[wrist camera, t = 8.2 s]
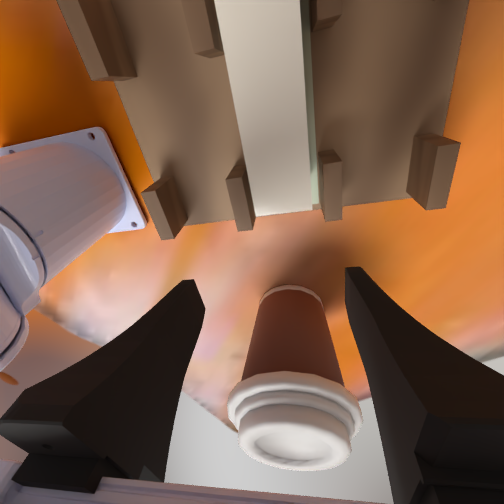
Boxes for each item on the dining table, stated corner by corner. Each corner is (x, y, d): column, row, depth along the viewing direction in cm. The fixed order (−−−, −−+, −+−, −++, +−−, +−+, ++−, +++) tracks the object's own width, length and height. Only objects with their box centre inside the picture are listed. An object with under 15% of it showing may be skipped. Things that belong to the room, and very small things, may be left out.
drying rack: (176, 221, 22) (156, 247, 18) (90, -1, 14) (31, -27, 11) (424, 190, 18) (455, 214, 15) (481, -135, 10) (571, -235, 7)
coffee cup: (353, 286, 23) (402, 438, 13) (318, 345, 28) (335, 486, 18) (256, 263, 23) (233, 399, 13) (239, 327, 28) (212, 459, 18)
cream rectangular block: (263, 185, 18) (255, 216, 14) (231, -10, 13) (203, -55, 8) (306, 179, 17) (312, 209, 13) (291, -28, 12) (294, -86, 8)
